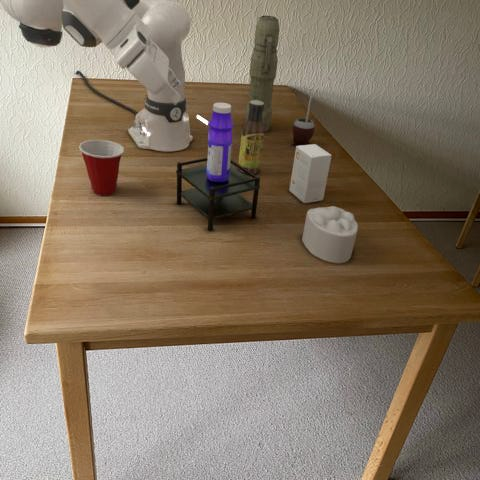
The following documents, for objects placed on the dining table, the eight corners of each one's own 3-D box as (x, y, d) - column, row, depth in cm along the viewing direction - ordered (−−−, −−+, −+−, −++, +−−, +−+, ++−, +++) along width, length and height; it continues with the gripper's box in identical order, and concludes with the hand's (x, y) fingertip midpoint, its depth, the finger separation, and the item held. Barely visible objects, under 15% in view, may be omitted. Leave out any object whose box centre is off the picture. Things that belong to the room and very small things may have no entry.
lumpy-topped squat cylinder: (335, 231, 126) (342, 199, 121) (361, 260, 117) (370, 227, 111) (297, 235, 123) (302, 203, 118) (320, 265, 114) (328, 232, 108)
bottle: (205, 170, 127) (209, 99, 116) (228, 171, 127) (233, 100, 117) (206, 183, 121) (209, 109, 111) (230, 184, 122) (235, 111, 111)
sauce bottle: (243, 176, 147) (249, 106, 135) (234, 167, 152) (240, 99, 140) (263, 174, 150) (271, 105, 138) (254, 165, 154) (261, 98, 142)
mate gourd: (297, 149, 167) (304, 102, 158) (285, 140, 173) (292, 94, 164) (316, 147, 170) (324, 101, 161) (304, 138, 175) (312, 93, 166)
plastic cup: (129, 199, 131) (126, 154, 124) (85, 201, 128) (80, 155, 121) (124, 180, 139) (121, 137, 132) (82, 182, 136) (77, 138, 129)
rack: (175, 203, 131) (176, 162, 125) (221, 192, 138) (223, 153, 132) (209, 231, 121) (211, 189, 115) (256, 218, 128) (261, 177, 122)
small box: (323, 200, 139) (332, 155, 131) (303, 204, 137) (311, 157, 129) (307, 187, 145) (315, 143, 137) (288, 190, 142) (295, 145, 134)
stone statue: (264, 121, 186) (276, 13, 164) (274, 134, 177) (288, 21, 156) (240, 122, 183) (249, 12, 162) (249, 134, 174) (260, 20, 153)
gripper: (124, 41, 114) (169, 89, 121) (115, 65, 97) (167, 119, 105) (144, 20, 111) (188, 70, 119) (138, 41, 95) (189, 97, 102)
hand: (178, 93), depth 111 cm, fingers open, 8 cm apart
